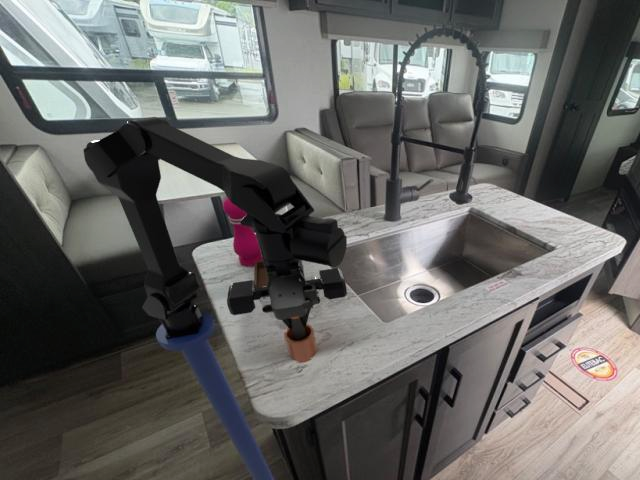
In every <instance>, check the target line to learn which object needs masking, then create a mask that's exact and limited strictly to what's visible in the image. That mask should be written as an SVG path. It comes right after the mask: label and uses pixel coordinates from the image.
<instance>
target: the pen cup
mask: <svg viewBox="0 0 640 480" xmlns="http://www.w3.org/2000/svg"><path fill="white" fill-rule="evenodd" d="M304 328H305V333H306V339H304V340H301V341H295V339H294V335H293V331H292V329H289V328H288V327H287V328H286V329H285V331H284V333H283V336H284V337H283V338H284V341H285V344H286V349H287V353H288V356H289V358H290V359H292V361H294V362H295V361H296V363H298V364H302V363H307V362H310V361H312V360H313V358H314V357H315V356H316V354H317V352H318V345H317V340H316V336H315V335H316V333H315V329H314V327H313V326H312V325H311V324H308V323H307V324H306V327H304Z"/></svg>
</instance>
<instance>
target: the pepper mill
mask: <svg viewBox="0 0 640 480" xmlns="http://www.w3.org/2000/svg"><path fill="white" fill-rule="evenodd" d="M222 210H223V211H224V213H225V214H226V215H227V216H228V220H229V223H230V224H232V227H233V231H234V232H233V233H234V235H233V242H232V247H233V251H234V253H235V254H236V255H238V260H239V263H240V265H241V266H244V267H255V261H263V259H262V255H261V251H260V248H259V244H258V240H257V236H256V233H255V231H254V230H253V227H248V226H243V225H241V223H240V221H241V220H242V219H243V218H244V217H245V216H246V215H247V213H246V212H244V211H243V210H241V209H240V208H238V207H237V206H235V205H234V204H232V203H231V202H230V200H229V199H228V197H226V198H224V200H223V201H222Z"/></svg>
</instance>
